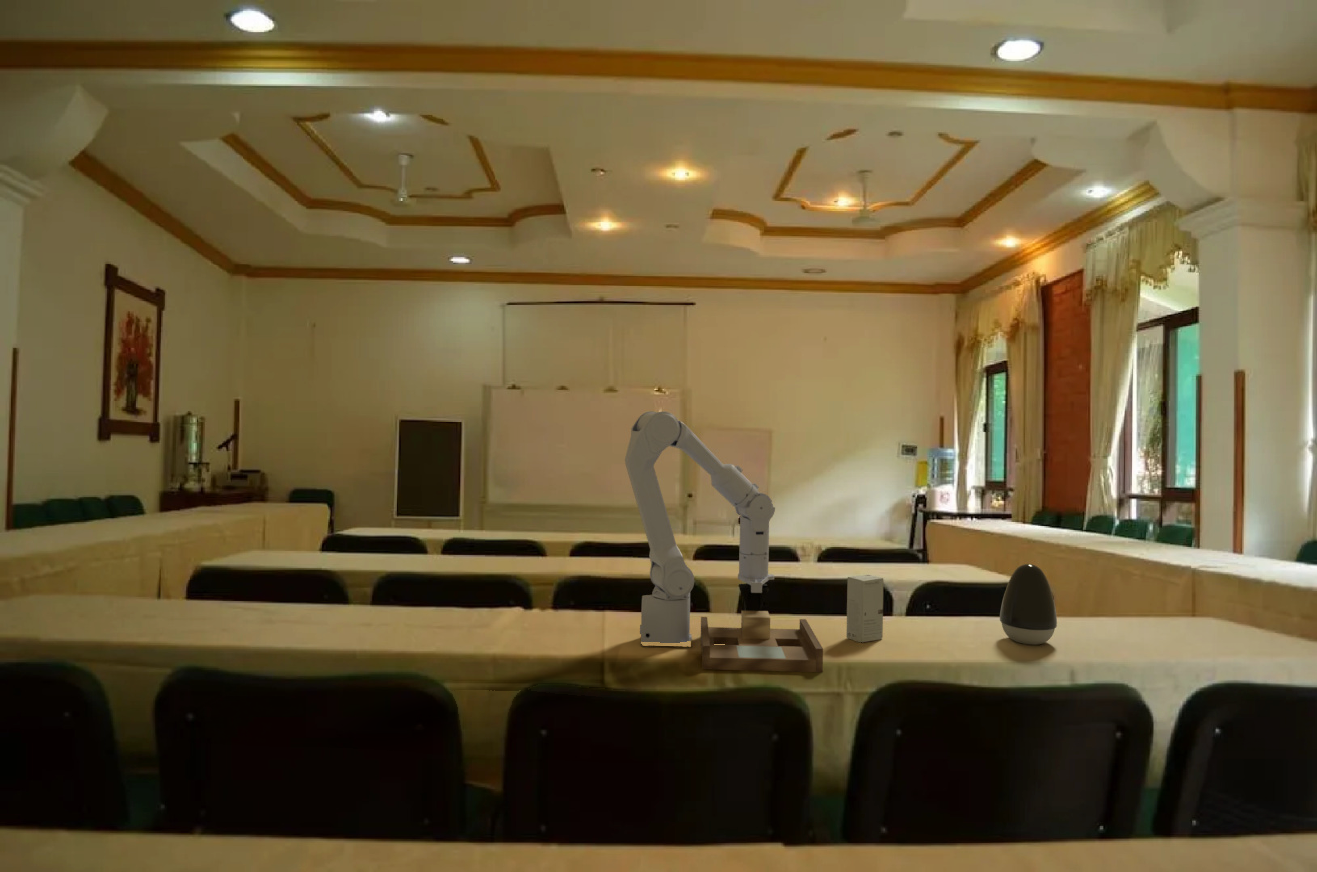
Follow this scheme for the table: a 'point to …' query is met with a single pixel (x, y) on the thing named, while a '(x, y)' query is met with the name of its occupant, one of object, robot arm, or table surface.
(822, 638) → the table surface
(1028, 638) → the two-tone egg figurine
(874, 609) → the skincare box
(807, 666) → the trap board
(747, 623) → the maple block
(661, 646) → the table surface
